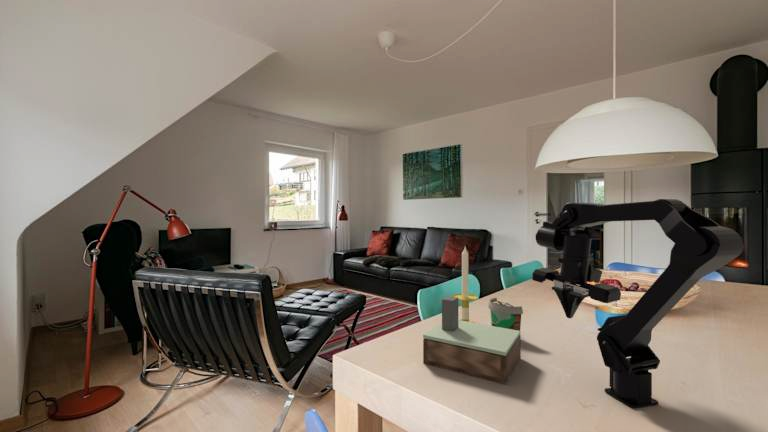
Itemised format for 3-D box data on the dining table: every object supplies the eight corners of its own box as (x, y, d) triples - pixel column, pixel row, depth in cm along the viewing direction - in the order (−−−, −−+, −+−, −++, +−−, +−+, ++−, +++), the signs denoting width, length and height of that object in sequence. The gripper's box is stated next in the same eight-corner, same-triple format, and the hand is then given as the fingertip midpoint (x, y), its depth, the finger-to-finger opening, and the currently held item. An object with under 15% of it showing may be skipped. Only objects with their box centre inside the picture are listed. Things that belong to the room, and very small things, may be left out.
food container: (479, 329, 109) (479, 298, 109) (495, 327, 111) (495, 297, 111) (506, 343, 97) (506, 308, 97) (523, 340, 99) (523, 306, 99)
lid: (520, 333, 87) (520, 300, 87) (505, 355, 74) (505, 315, 74) (447, 320, 98) (447, 290, 98) (423, 338, 84) (423, 303, 84)
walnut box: (520, 358, 87) (520, 335, 87) (505, 384, 74) (505, 357, 74) (447, 342, 98) (447, 321, 98) (423, 363, 85) (423, 339, 84)
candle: (482, 332, 107) (482, 247, 107) (450, 330, 108) (450, 246, 108) (478, 322, 117) (478, 244, 116) (449, 320, 118) (449, 243, 118)
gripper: (637, 260, 76) (629, 326, 78) (559, 245, 92) (554, 300, 94) (610, 265, 71) (602, 336, 72) (533, 248, 87) (528, 306, 89)
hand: (569, 317), depth 82 cm, fingers closed
